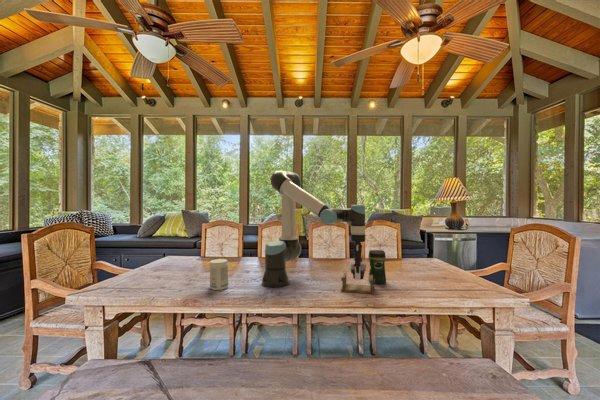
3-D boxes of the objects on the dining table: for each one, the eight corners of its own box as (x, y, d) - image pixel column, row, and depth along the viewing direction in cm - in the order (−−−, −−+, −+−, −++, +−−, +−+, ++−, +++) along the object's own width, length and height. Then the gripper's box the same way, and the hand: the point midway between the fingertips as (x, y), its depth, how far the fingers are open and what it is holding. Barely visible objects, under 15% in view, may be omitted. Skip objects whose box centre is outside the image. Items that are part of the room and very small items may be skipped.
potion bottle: (346, 276, 149) (346, 254, 149) (360, 275, 152) (360, 253, 152) (355, 281, 141) (355, 257, 141) (369, 279, 144) (369, 256, 144)
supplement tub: (227, 284, 156) (227, 258, 156) (229, 289, 147) (229, 261, 147) (209, 286, 153) (209, 259, 153) (210, 291, 144) (209, 263, 144)
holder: (340, 291, 144) (340, 277, 144) (342, 285, 154) (342, 272, 154) (375, 294, 140) (375, 280, 140) (374, 288, 149) (374, 274, 149)
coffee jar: (383, 280, 163) (384, 249, 163) (387, 284, 155) (387, 251, 155) (367, 280, 164) (367, 248, 164) (369, 284, 156) (369, 251, 156)
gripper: (364, 236, 135) (364, 282, 135) (365, 231, 156) (365, 271, 156) (349, 236, 137) (349, 281, 137) (352, 231, 158) (352, 270, 158)
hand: (358, 276), depth 147 cm, fingers closed on potion bottle, 8 cm apart
